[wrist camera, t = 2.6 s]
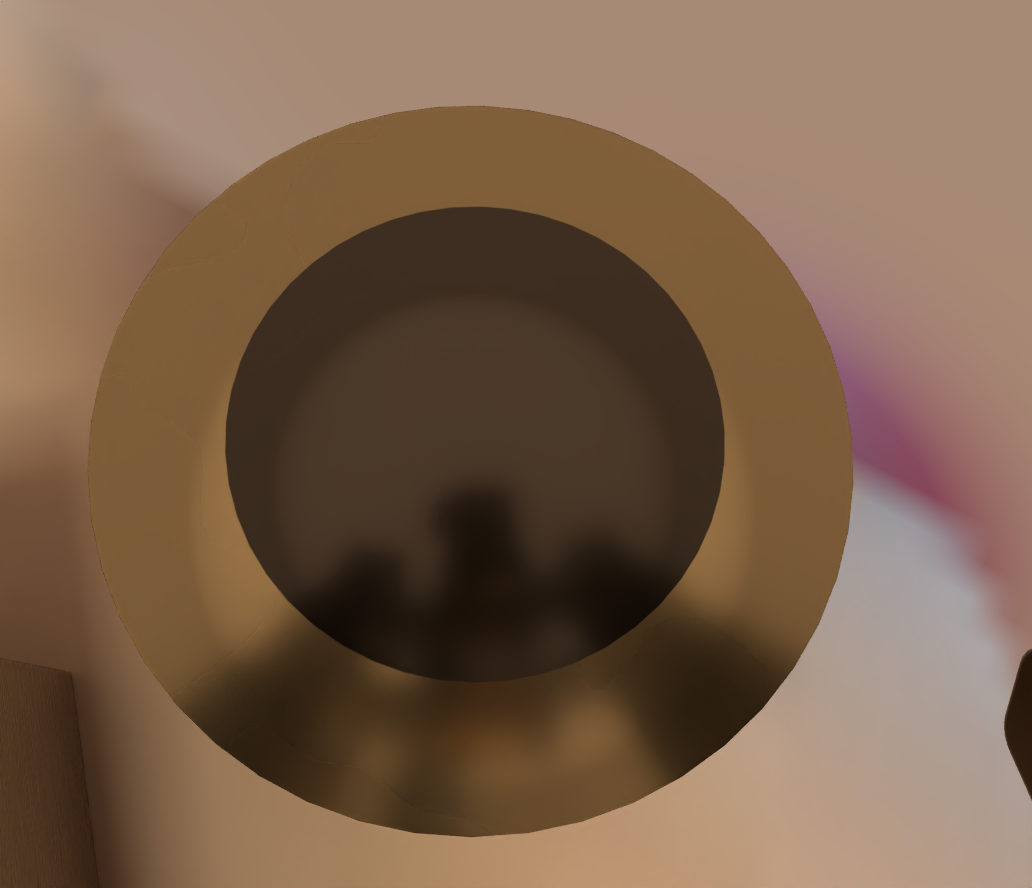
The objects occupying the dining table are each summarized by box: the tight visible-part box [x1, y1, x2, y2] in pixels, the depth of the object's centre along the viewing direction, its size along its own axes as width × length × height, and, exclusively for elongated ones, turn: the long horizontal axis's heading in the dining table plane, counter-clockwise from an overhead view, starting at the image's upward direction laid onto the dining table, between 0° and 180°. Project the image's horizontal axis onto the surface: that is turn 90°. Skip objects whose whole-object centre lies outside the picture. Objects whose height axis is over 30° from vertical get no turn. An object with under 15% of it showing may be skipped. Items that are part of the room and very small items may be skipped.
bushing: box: [88, 106, 853, 837], centre depth 11 cm, size 4×4×13 cm
